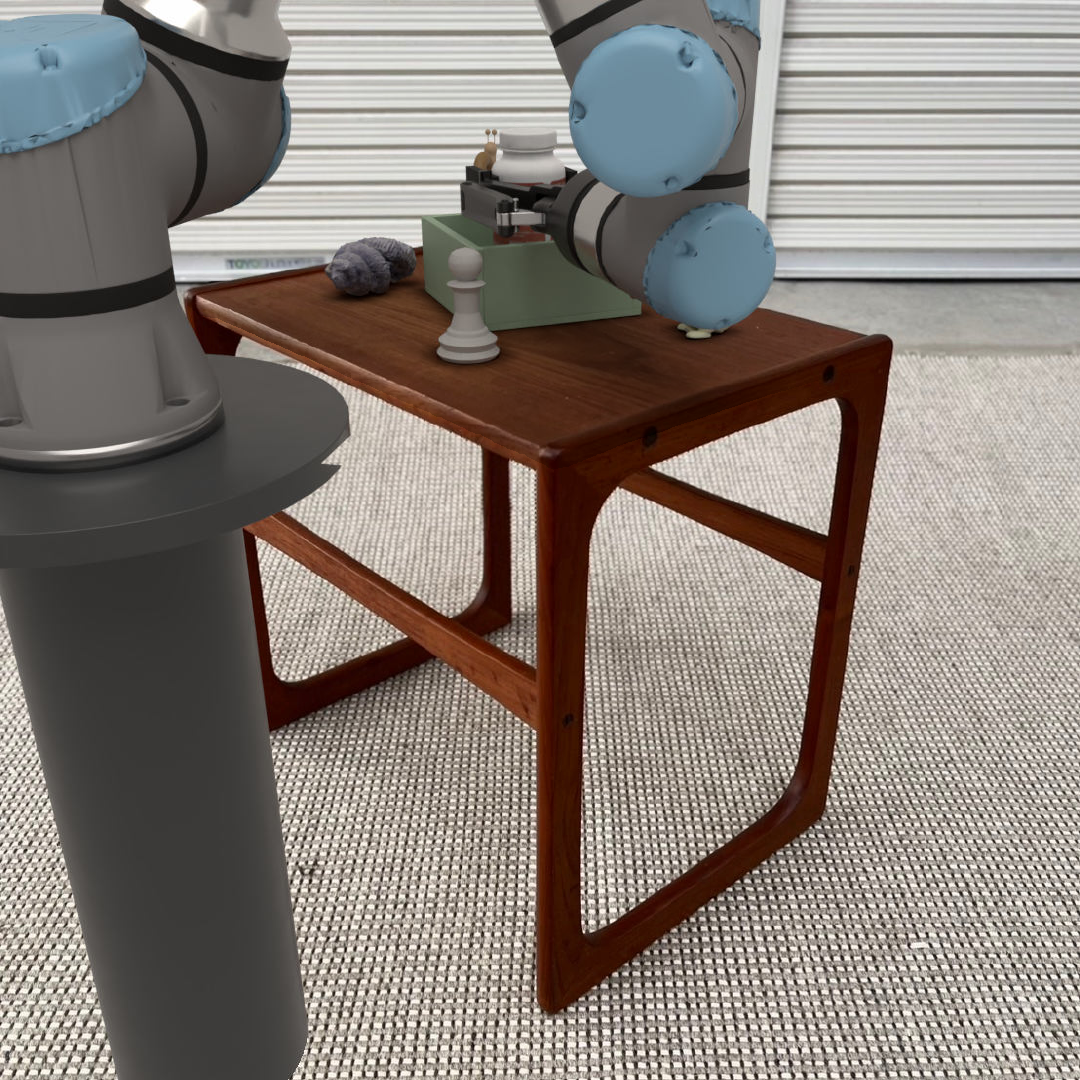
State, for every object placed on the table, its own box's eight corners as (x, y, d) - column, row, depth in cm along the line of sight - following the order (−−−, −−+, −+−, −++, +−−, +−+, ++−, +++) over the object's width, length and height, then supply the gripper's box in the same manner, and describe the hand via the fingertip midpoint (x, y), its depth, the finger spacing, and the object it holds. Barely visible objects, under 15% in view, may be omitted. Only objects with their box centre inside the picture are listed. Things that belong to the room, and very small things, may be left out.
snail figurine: (520, 253, 117) (519, 129, 111) (507, 267, 111) (505, 137, 106) (468, 251, 118) (464, 128, 112) (453, 265, 112) (448, 136, 107)
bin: (475, 333, 91) (473, 249, 88) (424, 290, 103) (421, 216, 100) (641, 314, 96) (644, 234, 93) (574, 276, 108) (574, 204, 105)
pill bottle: (541, 255, 102) (540, 123, 97) (580, 268, 97) (581, 131, 92) (480, 264, 99) (476, 129, 94) (517, 278, 94) (515, 136, 89)
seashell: (401, 292, 108) (334, 320, 100) (369, 243, 107) (299, 268, 99) (436, 262, 104) (370, 289, 97) (403, 211, 104) (334, 234, 96)
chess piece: (424, 358, 85) (418, 249, 82) (460, 342, 89) (457, 237, 85) (476, 368, 83) (473, 257, 79) (511, 351, 86) (510, 244, 83)
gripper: (491, 294, 79) (403, 232, 98) (735, 268, 85) (607, 215, 104) (488, 181, 75) (397, 140, 95) (742, 163, 82) (609, 128, 101)
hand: (508, 179), depth 99 cm, fingers closed on pill bottle, 6 cm apart
